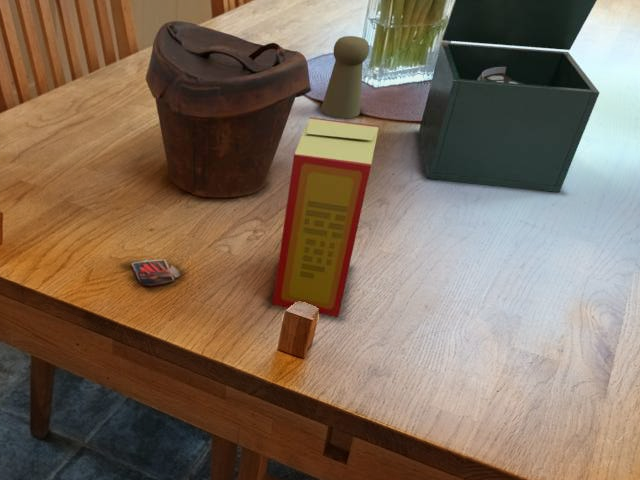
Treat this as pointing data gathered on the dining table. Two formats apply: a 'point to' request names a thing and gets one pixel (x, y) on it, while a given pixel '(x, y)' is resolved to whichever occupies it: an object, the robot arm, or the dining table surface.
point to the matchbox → (154, 272)
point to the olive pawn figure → (346, 78)
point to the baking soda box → (323, 212)
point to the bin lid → (518, 22)
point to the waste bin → (505, 117)
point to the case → (221, 106)
